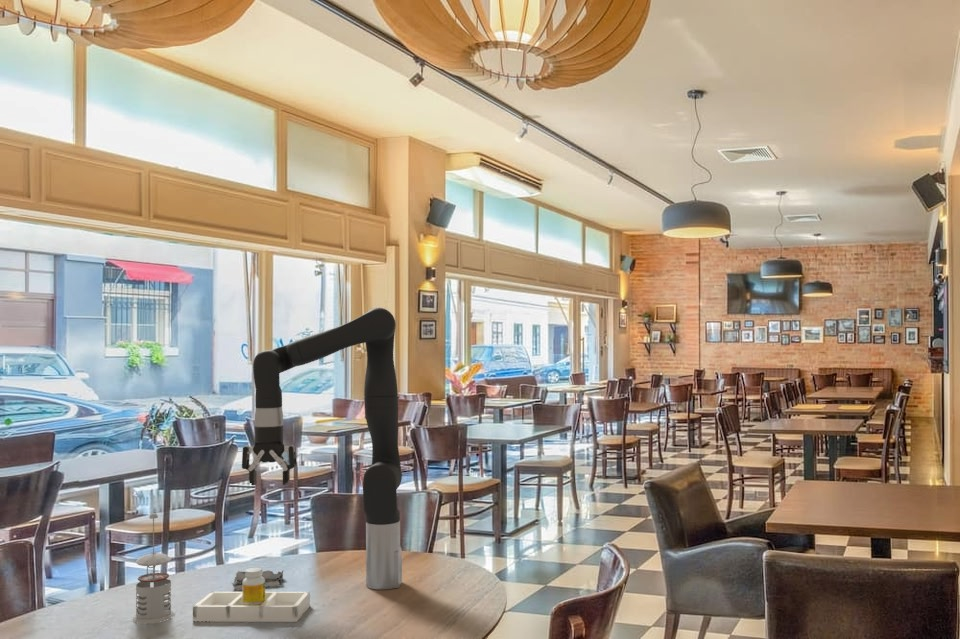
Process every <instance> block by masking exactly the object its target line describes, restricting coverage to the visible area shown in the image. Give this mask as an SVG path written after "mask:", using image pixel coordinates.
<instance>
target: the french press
mask: <svg viewBox="0 0 960 639" xmlns="http://www.w3.org/2000/svg"><path fill="white" fill-rule="evenodd" d="M158 516H159V515H158V514H157V513H155V512H153V513H150V514H149V519H152V552H151V553H146V554H144V555H142V556H140V557H139V558H138V559H136V560H135V564H137V565H138V566H142V567H146V573H145V574H141V575H140V576H138V578H137V580H138V581H139V582H137V583H136V585H135V591H136V593H135V597H136V598H135V615H134V616H133V617H132V618H133V619H131V621H132V620H133V621H134V622H138V623H137V624H139V623H146V624H145V625H147V624H148V623H150V624H157V623H156V622H158V623H161V622H160V621H163V622H165V621H164V620H166V621H168V620H167V619H169V620H171V619H172V618H171V617H173V616H174V615H176V613H175V612H174V611H173V610H172V593H171V592H172V588H171V587H172V581H171V580H170V579H168V578H169V577H170V574H169V573H167V572H156V567H157V566H160V565H161V566H162V565H165V564H168V563H170V562H171V560H172V557H171V556H169V555H168V554H165V553H161V552H155V519H157V518H158ZM149 569H152V572H149ZM151 583H153V586H151ZM174 617H175V616H174ZM174 617H173V618H174ZM170 618H171V619H170ZM133 621H132V622H133ZM134 622H133V623H134ZM148 625H149V624H148Z"/></svg>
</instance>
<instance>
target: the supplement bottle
mask: <svg viewBox="0 0 960 639" xmlns="http://www.w3.org/2000/svg"><path fill="white" fill-rule="evenodd" d="M244 572H245V576H246V578H245V579H244V580H242V581H243V583H242V589H241V590H242V591H241V592H242V605H247V606H260V605H261V604H262V603H263V602H264V601H265V592H266V587H265V580H266V579H264V578H263V577H262V576H261V575H262V572H263V568H261V567H249V568H247V569H245V571H244Z"/></svg>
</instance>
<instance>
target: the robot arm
mask: <svg viewBox="0 0 960 639" xmlns="http://www.w3.org/2000/svg"><path fill="white" fill-rule="evenodd" d="M396 324H397V323H396V320H395V316H394V315H393V314H392V312H390V311H389V310H388V309H386V308H383V307H375V308H371V309H369V310H368V311H366V312H365V313H363V314H362V315H360V316H357V318H354V319H353V320H350V321H348V322H346V323H344V324H341V325H339V326H336V327H332V328H329V329H326V330H324V331H323V330H322V331H319V332H317V333H313V334H310V335H307V336H304V337H301V338H298V339H295V340H293V341H291V342H289V343H288V344H285V345H282V346H279V347H275V348H271V349H269V350H263V351H260V352H258V353H257V354H256V355H255V357H254V358H253V361H252V362H253V363H252V366H253V368H252V370H253V371H252V372H253V380H254V387H255V396H254V398H255V399H254V400H255V405H254V406H255V410H254V421H253V425H254V445H253V446H249V445H245V446H243V447H242V453H241V454H242V457H241V458H242V459H241V468H242V470H247V471H248V475H249V477H248V478H249V484H251V486H256V485H257V470H256V469H257V467H258V466H259V465H260V464H261V463H275V462H276V463H277V464H278V465H279V466H280V468H281V469H282V485H284V486H286V485H288V483H289V482H290V480H291V477H290V476H291V474H290V470H291V469H294V468H296V467H297V463H298V462H297V452H296V445H295V444H292V445H289V446H288V445H287V446H286V445H285V444H284V413H283V392H282V388H281V385H280V384H281V383H280V374H281V373H285V371H288V370H291V369H293V368H295V367H300V366H304V365H306V364H309V363H313V362H315V361H318V360H322V359H323V358H326V357H328V356H331V355H332V354H334V353H337V352H340V351H342V350H344V349H347V348H350V347H353V346H356V345H360V344H365V347H366V368H365V375H364V376H365V378H364V388H363V389H364V390H363V391H364V392H363V395H364V396H363V397H364V398H363V401H364V404H363V406H364V415H365V420H366V425H367V428H368V432H369V434H370V439H371V445H372V446H371V447H372V448H371V449H372V450H371V451H372V453H371V454H372V456H371V457H372V458H371V465H370V466H368V468H367V469H366V470H365V471H364V473H363V477H362V478H363V479H362V501H363V512H364V515H365V554H366V555H365V557H366V558H365V560H366V561H365V563H366V564H365V565H366V566H365V569H366V571H365V572H366V574H365V575H366V576H365V580H366V584H365V585H366V587H367V588H369V589H371V590H390V589H399V588H400V586H401V584H402V582H403V567H402V566H403V564H402V563H403V561H402V560H403V559H402V556H403V552H402V546H401V515H400V514H401V511H400V510H399V508H398V500H397V499H398V497H397V493H398V492H397V489H398V488H399V487H400V486H401V484H402V478H403V475H402V466H401V459H400V450H399V440H398V439H399V394H398V393H399V392H398V382H397V381H398V380H397V375H396V369H395V368H396V367H395V362H394V347H395V346H394V345H395V332H396V326H397V325H396ZM284 452H285V453H286V454H287V455H288V459H289V460H288V462H289V463H288V462H287V460H286V459H285V457H284V456H283V455H284ZM252 453H254V454H255V455H256V457H255V458H253V460H252V462H251V464H250V455H252Z"/></svg>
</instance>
